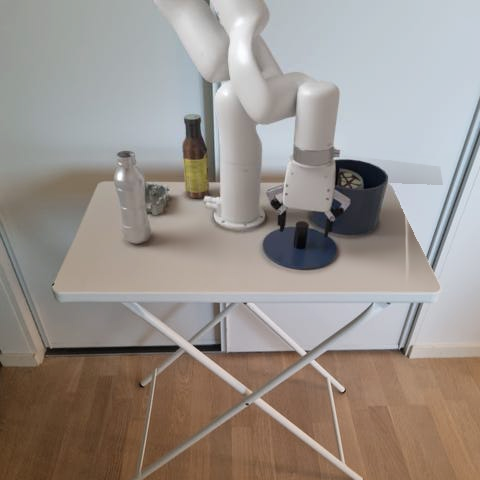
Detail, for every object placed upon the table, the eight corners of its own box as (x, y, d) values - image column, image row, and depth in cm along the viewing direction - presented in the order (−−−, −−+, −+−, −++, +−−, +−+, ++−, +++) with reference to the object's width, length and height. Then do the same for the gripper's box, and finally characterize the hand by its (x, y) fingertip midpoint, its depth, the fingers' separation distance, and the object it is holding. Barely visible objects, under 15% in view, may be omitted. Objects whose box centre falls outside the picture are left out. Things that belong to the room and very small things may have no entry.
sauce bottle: (213, 196, 122) (211, 118, 109) (192, 201, 120) (188, 123, 106) (201, 186, 126) (198, 110, 113) (181, 191, 124) (175, 114, 110)
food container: (356, 232, 109) (365, 193, 103) (330, 229, 110) (337, 190, 103) (357, 207, 118) (365, 170, 112) (333, 204, 119) (339, 167, 112)
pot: (306, 231, 110) (312, 184, 102) (315, 200, 122) (321, 155, 114) (375, 241, 107) (387, 194, 99) (377, 208, 119) (388, 164, 111)
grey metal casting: (161, 217, 114) (159, 202, 111) (132, 214, 115) (129, 198, 112) (172, 196, 122) (171, 181, 119) (145, 193, 122) (143, 179, 120)
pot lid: (255, 264, 100) (256, 238, 95) (270, 226, 112) (272, 201, 107) (331, 277, 97) (337, 251, 92) (339, 236, 109) (344, 211, 104)
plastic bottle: (137, 228, 109) (125, 145, 96) (158, 238, 107) (148, 153, 93) (117, 240, 106) (101, 155, 92) (138, 250, 103) (125, 164, 89)
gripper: (359, 150, 90) (345, 228, 101) (272, 142, 93) (268, 218, 105) (356, 165, 85) (342, 245, 96) (264, 156, 88) (261, 235, 99)
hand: (304, 231), depth 100 cm, fingers open, 9 cm apart
